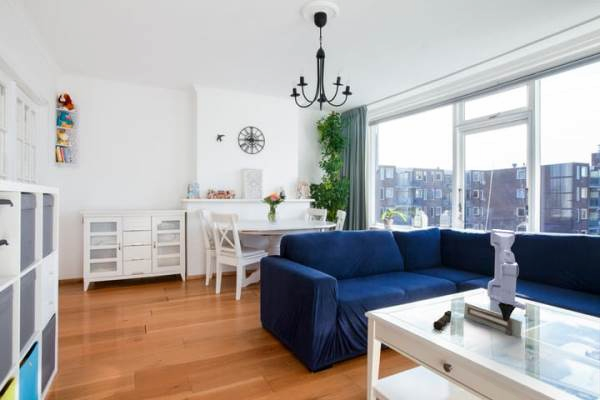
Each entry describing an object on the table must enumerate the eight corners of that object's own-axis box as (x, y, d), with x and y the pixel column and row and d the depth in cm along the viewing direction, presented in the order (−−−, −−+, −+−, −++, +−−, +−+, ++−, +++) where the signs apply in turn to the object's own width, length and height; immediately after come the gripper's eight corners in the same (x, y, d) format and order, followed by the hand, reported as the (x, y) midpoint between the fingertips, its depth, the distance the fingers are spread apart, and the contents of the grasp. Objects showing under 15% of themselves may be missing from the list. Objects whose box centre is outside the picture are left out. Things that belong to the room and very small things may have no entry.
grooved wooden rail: (468, 313, 164) (468, 305, 164) (511, 329, 146) (511, 320, 146) (467, 314, 163) (467, 306, 163) (510, 329, 146) (510, 320, 146)
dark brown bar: (441, 331, 147) (442, 321, 147) (432, 329, 150) (433, 318, 150) (456, 320, 161) (456, 311, 161) (447, 318, 164) (448, 309, 164)
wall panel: (465, 315, 167) (466, 302, 167) (520, 336, 145) (521, 320, 145) (460, 316, 166) (461, 303, 165) (516, 338, 143) (517, 322, 143)
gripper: (486, 286, 152) (484, 316, 152) (520, 296, 139) (518, 328, 140) (495, 285, 155) (493, 313, 156) (529, 294, 143) (527, 325, 143)
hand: (506, 320), depth 148 cm, fingers closed, pressing on grooved wooden rail
